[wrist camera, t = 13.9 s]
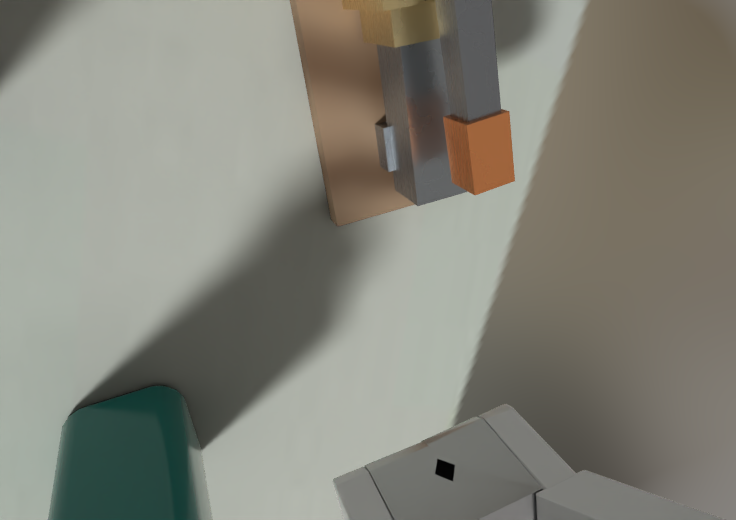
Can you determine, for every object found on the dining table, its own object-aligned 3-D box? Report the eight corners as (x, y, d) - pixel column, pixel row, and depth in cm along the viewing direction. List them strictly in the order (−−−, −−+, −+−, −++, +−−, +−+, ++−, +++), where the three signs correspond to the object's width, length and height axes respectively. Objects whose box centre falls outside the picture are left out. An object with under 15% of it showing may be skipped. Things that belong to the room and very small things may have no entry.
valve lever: (405, -99, 27) (436, -111, 24) (456, -110, 28) (492, -123, 25) (445, 180, 34) (473, 195, 31) (485, 166, 35) (516, 180, 32)
